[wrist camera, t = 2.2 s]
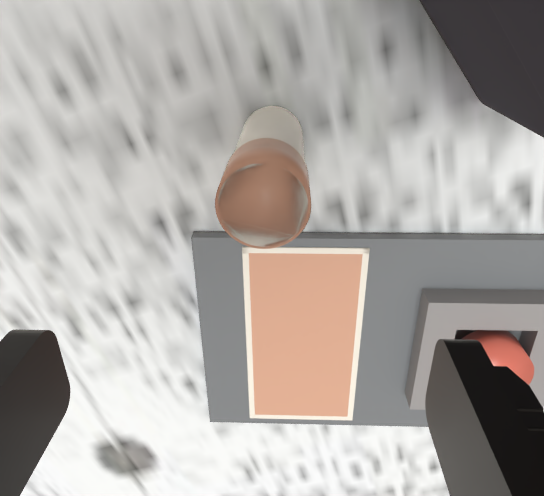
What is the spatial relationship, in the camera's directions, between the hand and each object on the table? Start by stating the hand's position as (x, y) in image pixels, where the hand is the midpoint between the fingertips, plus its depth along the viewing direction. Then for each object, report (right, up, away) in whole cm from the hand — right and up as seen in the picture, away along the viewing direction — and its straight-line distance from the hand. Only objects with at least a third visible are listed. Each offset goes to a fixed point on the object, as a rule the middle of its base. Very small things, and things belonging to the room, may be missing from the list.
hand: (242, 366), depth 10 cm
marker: (+1, +9, +16) cm, 19 cm away
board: (+8, -4, +23) cm, 24 cm away
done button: (+15, -4, +21) cm, 26 cm away
